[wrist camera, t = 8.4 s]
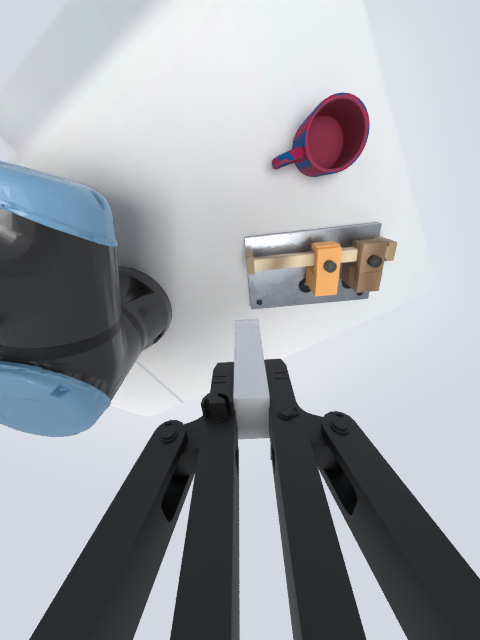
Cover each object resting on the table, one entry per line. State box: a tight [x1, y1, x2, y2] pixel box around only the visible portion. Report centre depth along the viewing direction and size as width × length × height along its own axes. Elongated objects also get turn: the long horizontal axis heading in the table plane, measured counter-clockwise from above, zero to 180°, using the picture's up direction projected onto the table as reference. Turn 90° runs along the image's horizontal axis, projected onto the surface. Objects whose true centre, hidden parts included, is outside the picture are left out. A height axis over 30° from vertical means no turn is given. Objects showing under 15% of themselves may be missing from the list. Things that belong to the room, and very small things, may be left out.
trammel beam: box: [246, 236, 397, 293], centre depth 33 cm, size 20×8×7 cm, turn 96°
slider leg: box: [306, 241, 342, 297], centre depth 33 cm, size 3×8×7 cm, turn 6°
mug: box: [272, 93, 369, 177], centre depth 27 cm, size 7×10×7 cm
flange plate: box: [245, 222, 382, 309], centre depth 37 cm, size 20×12×1 cm, turn 96°
